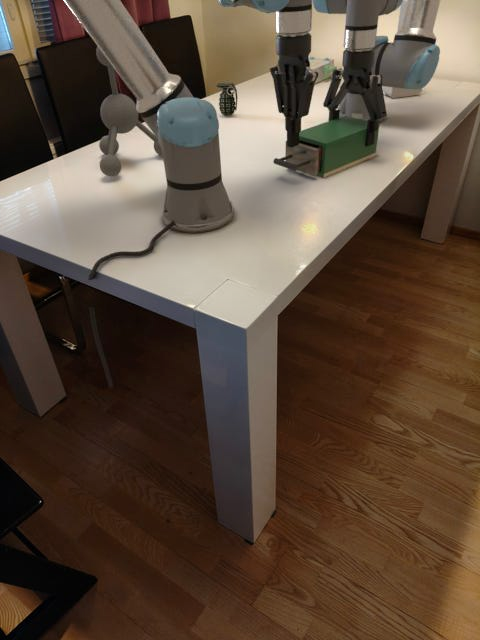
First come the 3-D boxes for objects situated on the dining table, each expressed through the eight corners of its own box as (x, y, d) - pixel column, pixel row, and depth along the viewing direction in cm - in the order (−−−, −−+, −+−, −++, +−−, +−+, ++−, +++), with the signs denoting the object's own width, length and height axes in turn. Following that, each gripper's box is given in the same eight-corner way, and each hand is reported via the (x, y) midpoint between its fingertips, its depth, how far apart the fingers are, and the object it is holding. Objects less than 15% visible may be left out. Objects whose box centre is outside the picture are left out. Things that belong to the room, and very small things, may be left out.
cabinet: (323, 177, 122) (325, 143, 117) (291, 166, 129) (291, 133, 124) (375, 155, 132) (379, 123, 127) (342, 146, 139) (345, 115, 134)
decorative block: (302, 55, 216) (343, 58, 206) (301, 71, 220) (342, 74, 210) (270, 66, 200) (313, 70, 190) (270, 83, 204) (313, 88, 194)
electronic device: (391, 98, 176) (404, -1, 158) (381, 93, 182) (392, -2, 163) (421, 94, 178) (438, -4, 160) (410, 90, 184) (425, -5, 166)
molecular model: (186, 167, 131) (171, 41, 113) (104, 183, 125) (74, 52, 107) (164, 142, 149) (148, 29, 130) (91, 155, 143) (64, 38, 125)
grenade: (217, 117, 168) (214, 86, 162) (221, 112, 172) (219, 82, 166) (235, 117, 166) (233, 86, 160) (239, 113, 171) (238, 82, 165)
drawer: (298, 183, 117) (298, 156, 113) (269, 172, 124) (268, 146, 120) (364, 155, 130) (367, 130, 126) (334, 147, 136) (336, 123, 132)
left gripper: (328, 32, 101) (323, 147, 115) (284, 28, 109) (285, 136, 123) (303, 38, 97) (301, 155, 112) (259, 34, 105) (263, 143, 120)
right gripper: (410, 51, 112) (396, 146, 126) (331, 42, 127) (326, 128, 140) (391, 56, 109) (378, 153, 122) (312, 46, 123) (308, 134, 137)
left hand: (293, 145), depth 118 cm, fingers closed
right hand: (351, 140), depth 131 cm, fingers closed on cabinet, 11 cm apart
